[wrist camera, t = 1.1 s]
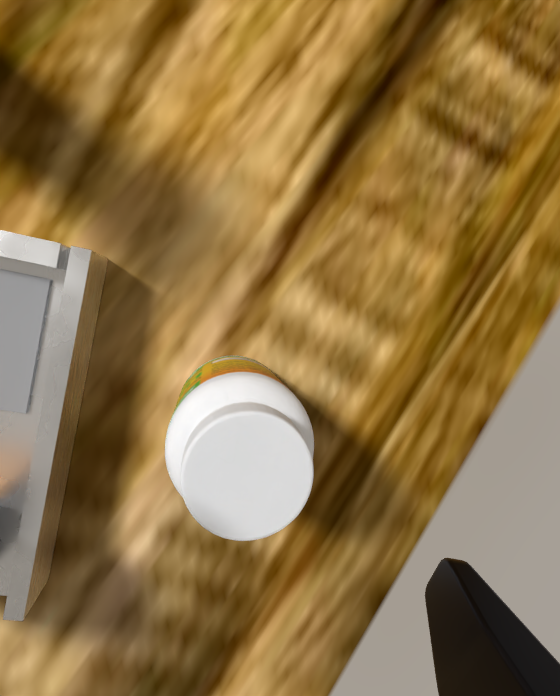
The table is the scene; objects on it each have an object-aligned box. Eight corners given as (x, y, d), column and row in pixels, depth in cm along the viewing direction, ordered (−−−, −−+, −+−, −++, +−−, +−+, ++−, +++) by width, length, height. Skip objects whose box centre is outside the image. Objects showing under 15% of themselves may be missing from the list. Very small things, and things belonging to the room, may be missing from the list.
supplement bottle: (187, 346, 22) (169, 374, 12) (291, 362, 23) (351, 399, 13) (170, 452, 22) (140, 558, 13) (275, 463, 23) (321, 572, 13)
